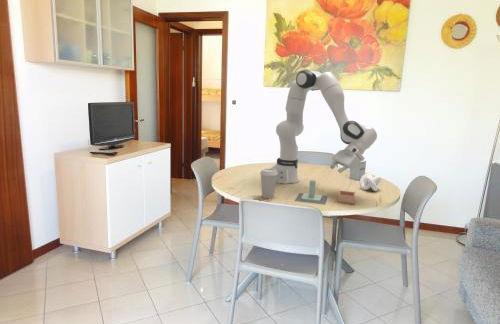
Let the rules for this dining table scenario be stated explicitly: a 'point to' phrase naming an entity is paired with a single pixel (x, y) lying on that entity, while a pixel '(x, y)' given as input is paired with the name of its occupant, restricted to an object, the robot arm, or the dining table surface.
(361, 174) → the supplement box
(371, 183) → the white knot sculpture
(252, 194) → the dining table surface
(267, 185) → the coffee cup
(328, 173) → the dining table surface
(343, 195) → the open box
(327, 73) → the robot arm
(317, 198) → the lid
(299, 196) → the mat
